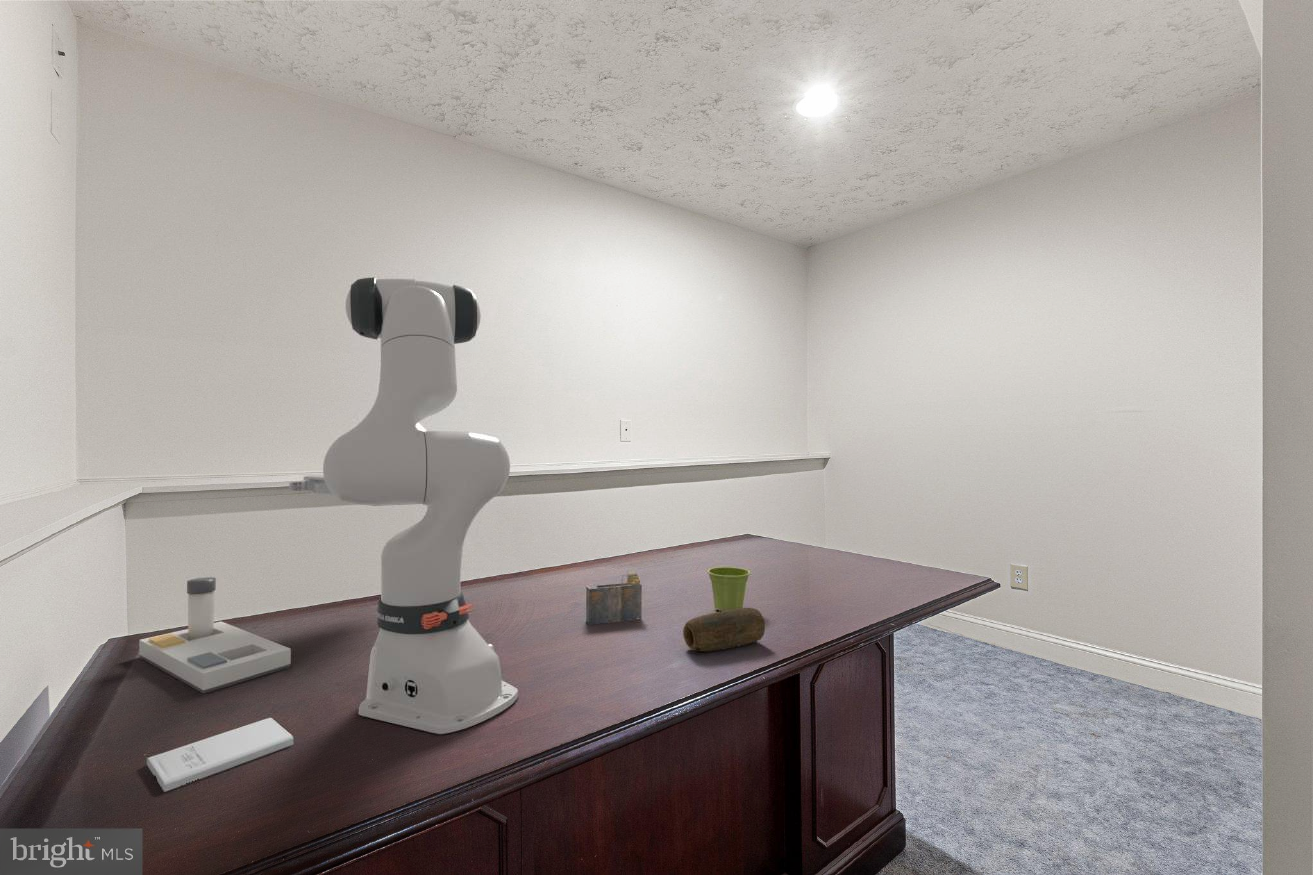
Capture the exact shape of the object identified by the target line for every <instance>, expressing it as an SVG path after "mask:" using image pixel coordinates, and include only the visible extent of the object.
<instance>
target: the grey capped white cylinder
mask: <svg viewBox="0 0 1313 875" xmlns="http://www.w3.org/2000/svg"><path fill="white" fill-rule="evenodd" d="M216 583H217V578H216V577H214V576H213V577H212V576H210V577H198V578H193V579H188V580H187V581H186V594H188V599H187V600H188V601H187V602H188V604H187V607H188V608H187V609H188V610H187V613H188V614H187V629H188V641H190V640H195V639H199V638H203V637H207V636H211V635H214V623H215V591H216V589H217V588H216Z"/></svg>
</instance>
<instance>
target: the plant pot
mask: <svg viewBox="0 0 1313 875" xmlns="http://www.w3.org/2000/svg"><path fill="white" fill-rule="evenodd" d="M707 573H708V574H709V580H710V581H711V582H710V583H711V588H712V589H711V590H712V596H713V603H714V609H715V608H716V610H719V611H718V612H720V611H727V610H732V609H738V608H744V600H745V593H746V588H747V582H748V580H749V579H748V578H749V576H750V575H751V571H750V570H748V569H746V568H742V567H741V568H740V567H733V566H720V567H719V566H718V567H712V568H709V569H707ZM716 610H715V611H716Z"/></svg>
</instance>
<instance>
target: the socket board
mask: <svg viewBox="0 0 1313 875" xmlns="http://www.w3.org/2000/svg"><path fill="white" fill-rule="evenodd" d="M138 644H139V647H138V648H139V649H138V651H139V653H138V654H139V656H138V657H139V658H140V659H141V660H144V661H145V662H147V663H149V664H150V665H152V666H154V667H156V668H158V669H159V670H161V671H163V672H164V673H166V674H168V675H169V676H171V677H173V678H175V679H176V680H179V681H180V682H182V683H184V684H186V685H187V686H189V687H191V688H193V689H194V690H196V691H199V692H200V693H201V694H208V693H210V692H213V691H217V690H221V689H224V688H226V687H227V688H228V687H230V686H234V685H237V684H241V683H243V682H246V681H250V680H253V679H256V678H259V677H260V678H261V677H263V676H266V675H269V674H272V673H275V672H279V671H282V670H285V669H289V668H291V664H292V662H291V660H292V658H291V657H292V655H291V654H292V652H291V651H292V649H291V648H289V647H288V646H285V645H282V644H279V643H277V642H275V641H272V640H269V639H267V638H264V637H263V636H259V635H257V634H254V633H252V632H249V631H246V630H244V629H242V628H239V627H237V626H234V625H232V624H229V623H227V622H224V621H216V622H214V635H211V636H207V637H203V638H199V639H195V640H190V641H188V628H186V629H182V630H177V631H172V632H169V633H163V634H161V635H156V636H150V637H146V638H141V639H139V643H138Z"/></svg>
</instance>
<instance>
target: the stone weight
mask: <svg viewBox="0 0 1313 875" xmlns="http://www.w3.org/2000/svg"><path fill="white" fill-rule="evenodd" d="M682 630H683V631H682V635H683V639H684V642H685V644H686V646H687V647H688V648H689V649H690V650H691V651H694V652H695V651H696V652H697V651H699V652H702V651H704V652H713V650H714V651H720V650H719V649H722V650H725V649H724V648H726V649H730V648H729V647H732V648H735V647H734V646H737V647H739V646H738V645H742V646H744V644H745V645H749V644H753V643H755V642H757V641H760V640H762V638H763V637H764V635H765V630H766V626H765V620H764V618H763V615H762V612H760V611H759V610H758V609H756V608H754V607H743V608H738V609H732V610H727V611H721V612H720V611H717V612H712V613H708V614H704V615H703V614H702V615H700V616H696V617H694V618H691V619H690V620H688V621H687V622H686V623H685V624H684V627H683V629H682ZM752 642H753V643H752Z"/></svg>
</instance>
